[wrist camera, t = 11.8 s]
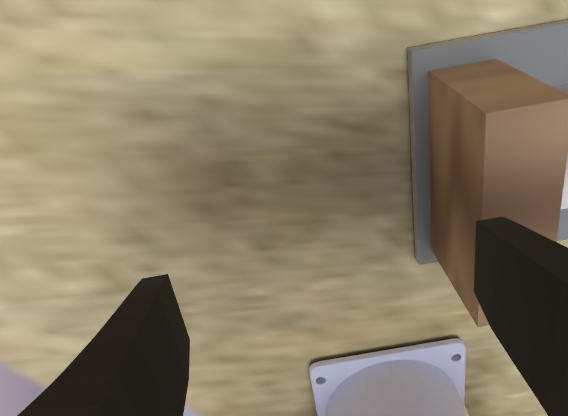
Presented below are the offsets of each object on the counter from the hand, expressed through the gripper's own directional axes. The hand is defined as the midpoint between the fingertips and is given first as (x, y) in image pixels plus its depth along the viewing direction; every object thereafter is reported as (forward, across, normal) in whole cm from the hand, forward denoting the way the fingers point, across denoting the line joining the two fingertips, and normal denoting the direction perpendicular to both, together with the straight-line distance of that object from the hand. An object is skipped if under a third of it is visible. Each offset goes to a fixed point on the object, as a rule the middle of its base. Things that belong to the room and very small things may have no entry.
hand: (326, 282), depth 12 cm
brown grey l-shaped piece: (+9, -11, +2) cm, 14 cm away
